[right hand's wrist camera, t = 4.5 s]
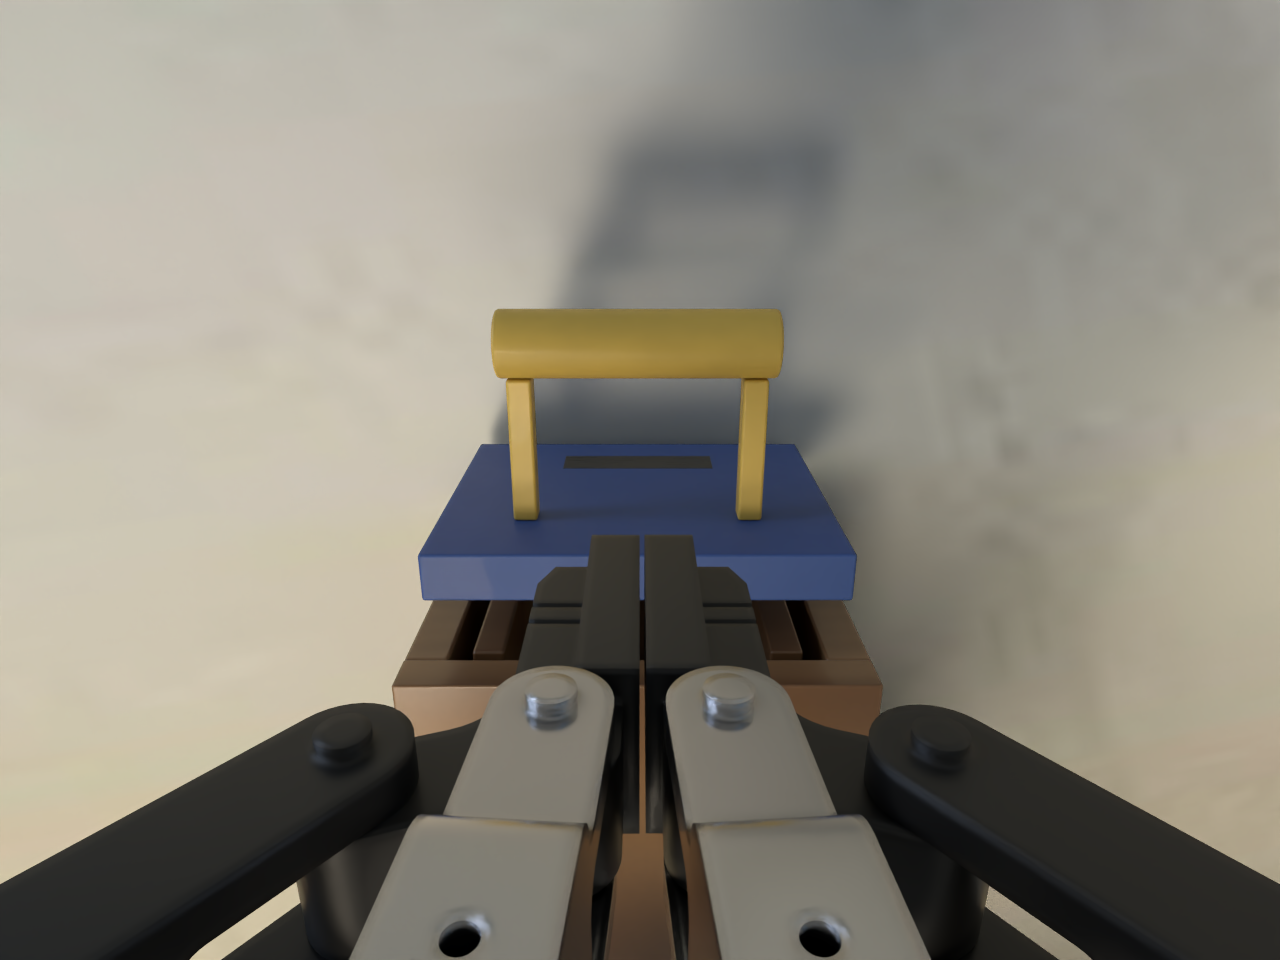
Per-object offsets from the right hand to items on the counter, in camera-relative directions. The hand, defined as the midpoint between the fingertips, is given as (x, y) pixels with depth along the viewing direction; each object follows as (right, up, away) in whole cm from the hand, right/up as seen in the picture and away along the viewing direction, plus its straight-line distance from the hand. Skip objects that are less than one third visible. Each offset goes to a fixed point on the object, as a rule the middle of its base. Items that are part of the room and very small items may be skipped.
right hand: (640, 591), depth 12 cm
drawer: (0, -1, +15) cm, 15 cm away
